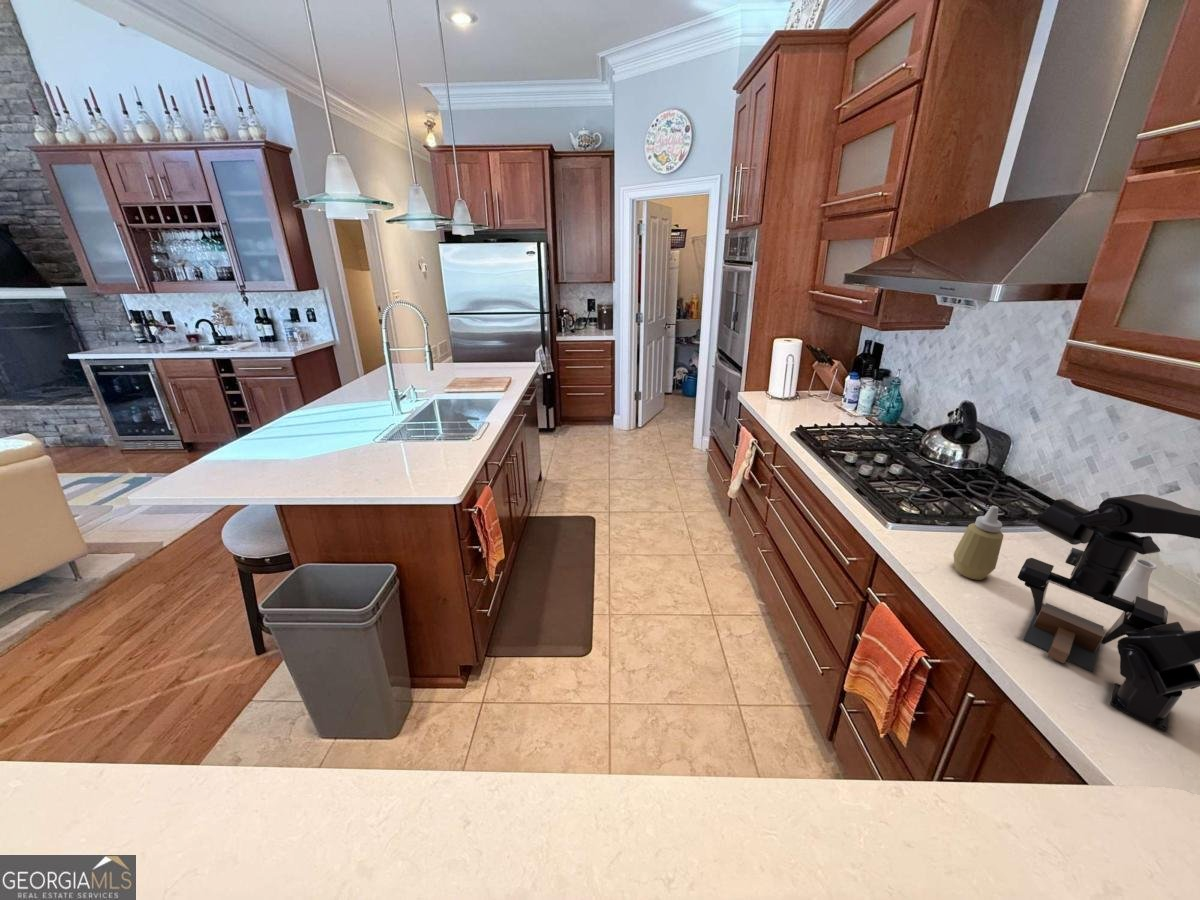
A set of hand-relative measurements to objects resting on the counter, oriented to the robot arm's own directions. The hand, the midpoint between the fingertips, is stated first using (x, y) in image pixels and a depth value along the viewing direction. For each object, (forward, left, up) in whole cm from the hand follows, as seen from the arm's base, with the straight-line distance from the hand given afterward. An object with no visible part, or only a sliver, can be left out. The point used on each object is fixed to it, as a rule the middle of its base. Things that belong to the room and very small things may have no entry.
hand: (1068, 627), depth 88 cm
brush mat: (+6, 0, -6) cm, 8 cm away
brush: (+2, 0, -5) cm, 6 cm away
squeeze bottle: (+15, +18, -6) cm, 24 cm away
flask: (+30, -7, -6) cm, 31 cm away
